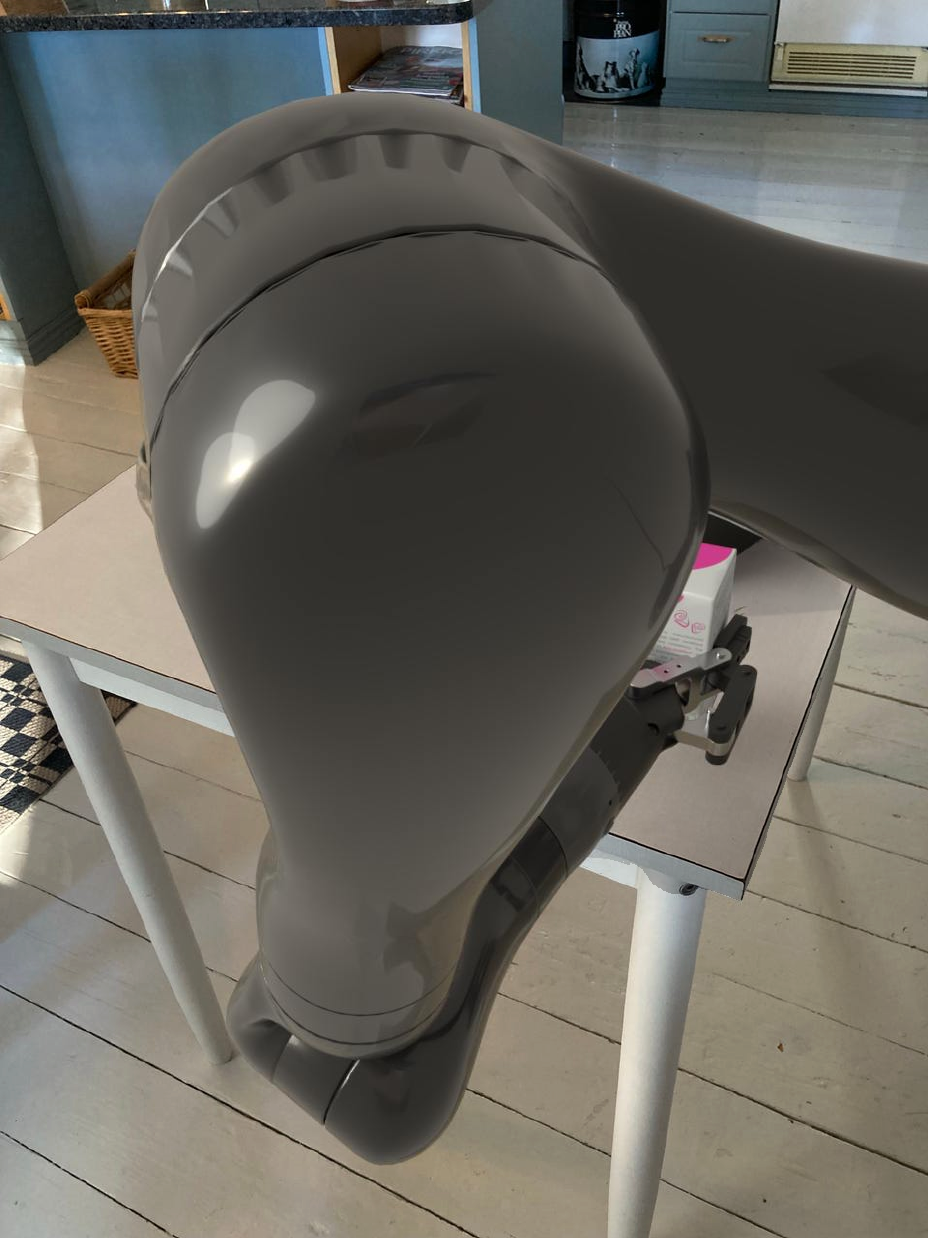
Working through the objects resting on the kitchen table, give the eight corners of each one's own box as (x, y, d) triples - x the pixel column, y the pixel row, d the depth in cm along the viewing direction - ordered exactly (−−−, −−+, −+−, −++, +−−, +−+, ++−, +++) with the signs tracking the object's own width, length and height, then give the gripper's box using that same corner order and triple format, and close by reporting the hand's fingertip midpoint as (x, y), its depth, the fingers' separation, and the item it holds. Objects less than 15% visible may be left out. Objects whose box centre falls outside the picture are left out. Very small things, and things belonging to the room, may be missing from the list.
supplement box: (720, 689, 66) (741, 546, 59) (697, 749, 62) (716, 604, 55) (636, 667, 68) (646, 527, 61) (607, 724, 64) (615, 581, 57)
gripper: (686, 784, 46) (810, 595, 57) (435, 679, 53) (587, 527, 63) (674, 884, 51) (791, 692, 61) (445, 775, 58) (585, 619, 68)
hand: (687, 609), depth 62 cm, fingers closed on supplement box, 6 cm apart
